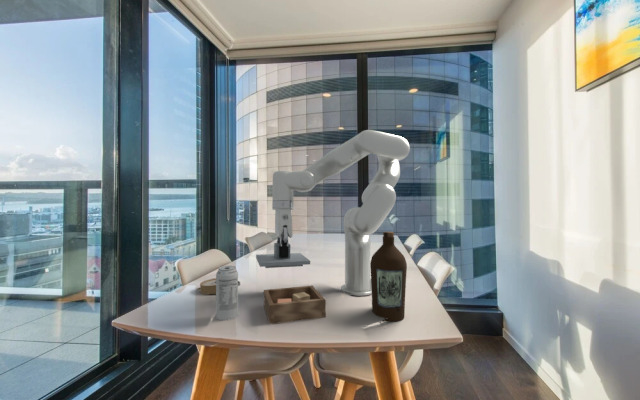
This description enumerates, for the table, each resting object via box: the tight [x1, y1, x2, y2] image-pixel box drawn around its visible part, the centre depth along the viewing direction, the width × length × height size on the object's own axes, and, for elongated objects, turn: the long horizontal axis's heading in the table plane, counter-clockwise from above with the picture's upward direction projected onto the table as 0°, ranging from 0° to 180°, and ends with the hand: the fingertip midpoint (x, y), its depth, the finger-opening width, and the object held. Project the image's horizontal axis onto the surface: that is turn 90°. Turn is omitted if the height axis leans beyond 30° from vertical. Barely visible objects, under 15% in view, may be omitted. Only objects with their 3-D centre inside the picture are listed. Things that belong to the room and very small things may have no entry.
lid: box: [255, 242, 311, 269], centre depth 105 cm, size 17×15×7 cm
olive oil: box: [370, 231, 408, 323], centre depth 87 cm, size 11×11×25 cm
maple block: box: [293, 292, 310, 301], centre depth 91 cm, size 4×4×4 cm
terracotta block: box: [278, 299, 291, 303], centre depth 85 cm, size 4×4×4 cm
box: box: [263, 285, 327, 325], centre depth 88 cm, size 16×14×6 cm
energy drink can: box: [215, 265, 239, 321], centre depth 84 cm, size 6×6×15 cm
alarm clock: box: [196, 277, 241, 295], centre depth 111 cm, size 11×5×15 cm
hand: (282, 255), depth 105 cm, fingers closed on lid, 5 cm apart
